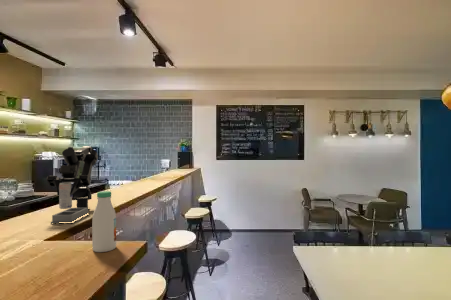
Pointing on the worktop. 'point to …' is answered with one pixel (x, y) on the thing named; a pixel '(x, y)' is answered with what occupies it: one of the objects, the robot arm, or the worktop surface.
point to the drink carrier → (69, 215)
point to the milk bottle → (104, 224)
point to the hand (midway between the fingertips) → (64, 194)
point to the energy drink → (65, 195)
